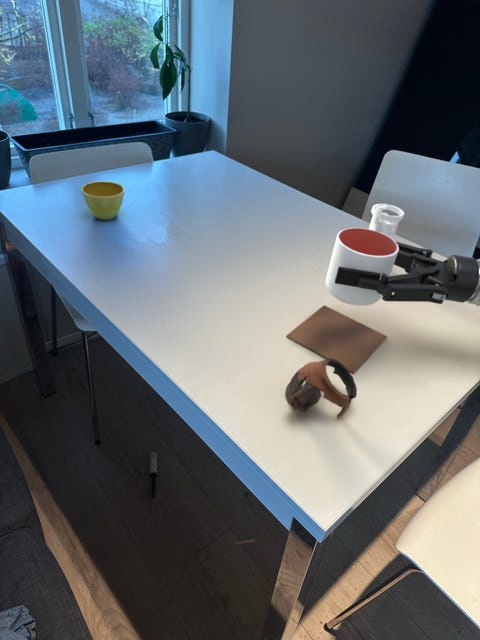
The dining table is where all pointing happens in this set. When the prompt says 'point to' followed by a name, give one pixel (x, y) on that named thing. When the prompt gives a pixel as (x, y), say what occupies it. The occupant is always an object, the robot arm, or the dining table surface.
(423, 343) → the dining table surface
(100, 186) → the flower pot
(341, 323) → the coaster
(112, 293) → the dining table surface
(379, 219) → the white openwork cylinder
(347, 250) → the cup
